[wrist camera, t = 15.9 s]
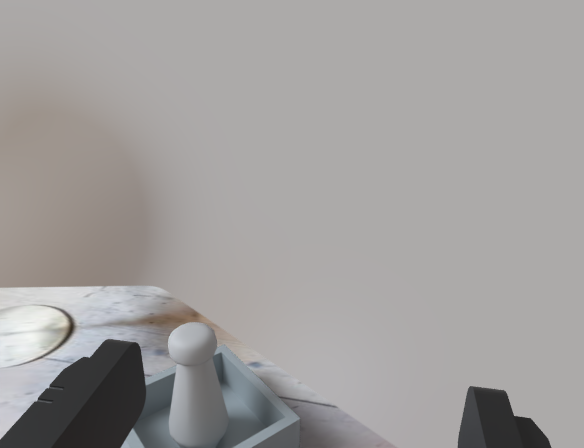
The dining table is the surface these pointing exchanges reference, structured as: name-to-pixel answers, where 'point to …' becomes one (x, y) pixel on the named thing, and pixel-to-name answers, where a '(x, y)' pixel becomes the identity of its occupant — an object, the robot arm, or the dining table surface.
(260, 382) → the bin
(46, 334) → the dining table surface
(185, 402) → the salt shaker
